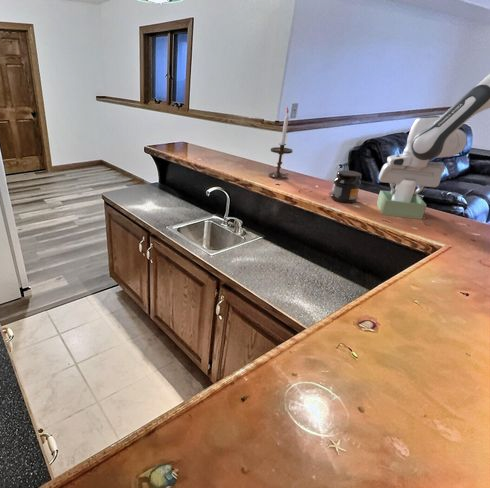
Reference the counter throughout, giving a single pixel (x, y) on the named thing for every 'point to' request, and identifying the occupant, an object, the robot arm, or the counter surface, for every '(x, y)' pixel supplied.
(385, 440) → the counter surface
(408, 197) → the can
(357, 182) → the supplement container
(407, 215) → the box
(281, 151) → the candlestick
